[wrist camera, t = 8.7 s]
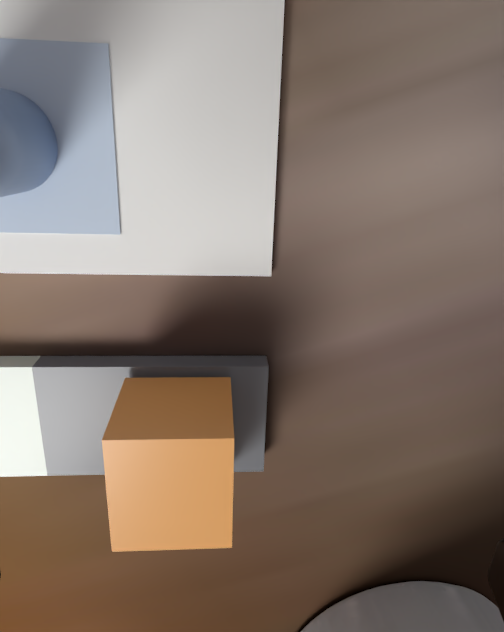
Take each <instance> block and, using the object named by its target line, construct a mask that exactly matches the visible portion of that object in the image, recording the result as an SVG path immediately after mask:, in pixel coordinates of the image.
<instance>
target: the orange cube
mask: <svg viewBox="0 0 504 632" xmlns="http://www.w3.org/2000/svg"><path fill="white" fill-rule="evenodd" d="M102 449H103V460H104V471H105V481H106V492H107V503H108V514H109V525H110V536H111V547H112V552H117V551H148V550H179V549H210V548H232V518H233V475H234V424H233V408H232V392H231V377H159V378H125V380H124V382H123V385H122V388H121V390H120V393H119V396H118V398H117V401H116V404H115V406H114V409H113V412H112V414H111V417H110V420H109V422H108V425H107V428H106V430H105V433H104V436H103V438H102Z"/></svg>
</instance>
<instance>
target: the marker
mask: <svg viewBox="0 0 504 632" xmlns="http://www.w3.org/2000/svg"><path fill="white" fill-rule="evenodd" d="M57 151H58V149H57V140H56V135H55V132H54V129H53V127H52V124H51V122H50V121H49V119H48V117H47V116H46V115H45V113H44V112H43V111H42V110H41V108H40V107H39V106H38V105H36V104H35V103H34V102H33V101H32V100H30V99H29V98H27V97H25V96H23V95H22V94H19V93H17V92H14V91H10V90H7V89H3V88H0V197H4V196H9V195H13V194H18V193H22V192H27V191H30V190H33V189H35V188H37V187H38V186H40V185H41V184H43V183H44V182H45V181H46V180H47V179H48V177H49V176H50V175H51V173H52V171H53V169H54V166H55V164H56V159H57Z"/></svg>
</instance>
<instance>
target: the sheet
mask: <svg viewBox="0 0 504 632" xmlns="http://www.w3.org/2000/svg"><path fill="white" fill-rule="evenodd" d="M284 3H285V0H0V88H3V89H7V90H10V91H14V92H17V93H19V94H22V95H23V96H25V97H27V98H29V99H30V100H32V101H33V102H34V103H35V104H36V105H38V106H39V107H40V108H41V110H42V111H43V112H44V113H45V115H46V116H47V117H48V119H49V121H50V122H51V124H52V127H53V129H54V132H55V135H56V140H57V149H58V151H57V159H56V164H55V166H54V169H53V171H52V173H51V175H50V176H49V177H48V179H47V180H46V181H45V182H44V183H43V184H41V185H40V186H38V187H37V188H35V189H33V190H30V191H27V192H22V193H18V194H13V195H9V196H4V197H0V273H38V274H120V275H201V276H271V270H272V250H273V229H274V209H275V188H276V167H277V147H278V126H279V106H280V85H281V65H282V44H283V24H284Z"/></svg>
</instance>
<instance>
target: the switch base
mask: <svg viewBox="0 0 504 632" xmlns="http://www.w3.org/2000/svg"><path fill="white" fill-rule="evenodd" d="M268 370H269V366H268V361H267V357H266V356H0V477H4V476H54V475H104V474H105V471H104V460H103V449H102V438H103V436H104V433H105V430H106V428H107V425H108V422H109V420H110V417H111V414H112V412H113V409H114V406H115V404H116V401H117V398H118V396H119V393H120V390H121V388H122V385H123V382H124V380H125V378H159V377H231V392H232V408H233V424H234V472H254V471H263V470H264V450H265V430H266V410H267V390H268Z"/></svg>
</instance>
